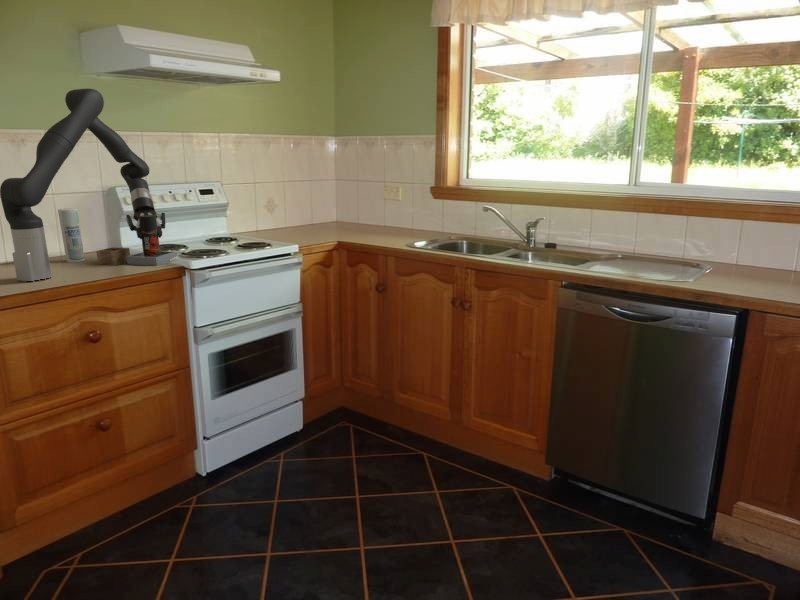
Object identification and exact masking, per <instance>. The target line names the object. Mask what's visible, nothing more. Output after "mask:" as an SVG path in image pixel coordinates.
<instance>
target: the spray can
mask: <svg viewBox="0 0 800 600" xmlns="http://www.w3.org/2000/svg"><path fill="white" fill-rule="evenodd" d="M78 211H79V210H78V208H75V207H69V208H67V207H66V208H59V209H57V212H58V219H59V224H60V225H59V226H60V230H61V231H60V232H61V235H62V243H63V247H64V253H65V254H64V255H65V259H66V262H67V263H78V262H79V263H80V262H84V261H85V259H86V258H85V252H84V245H83V239H82V232H81V225H80V224H81V223H80V217H79V212H78Z"/></svg>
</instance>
